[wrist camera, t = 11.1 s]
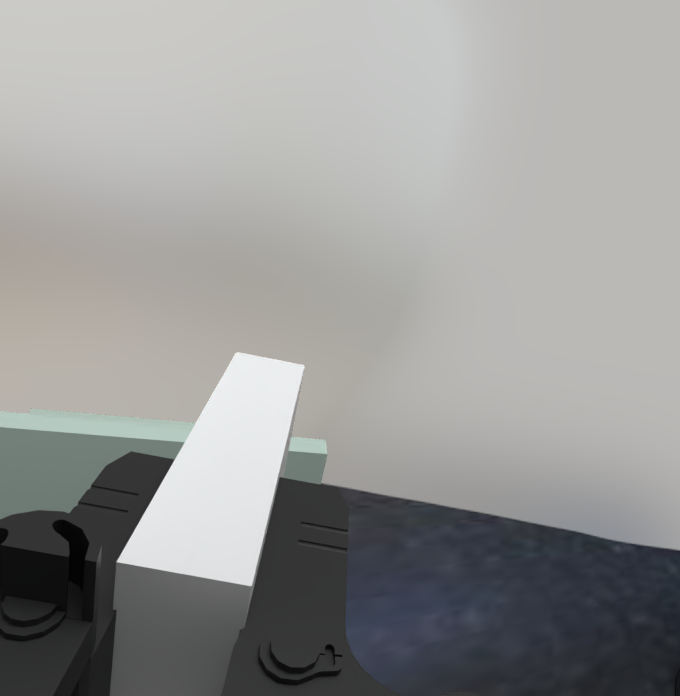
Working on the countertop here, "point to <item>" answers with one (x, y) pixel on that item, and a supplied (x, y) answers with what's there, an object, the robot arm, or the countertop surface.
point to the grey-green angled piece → (98, 454)
